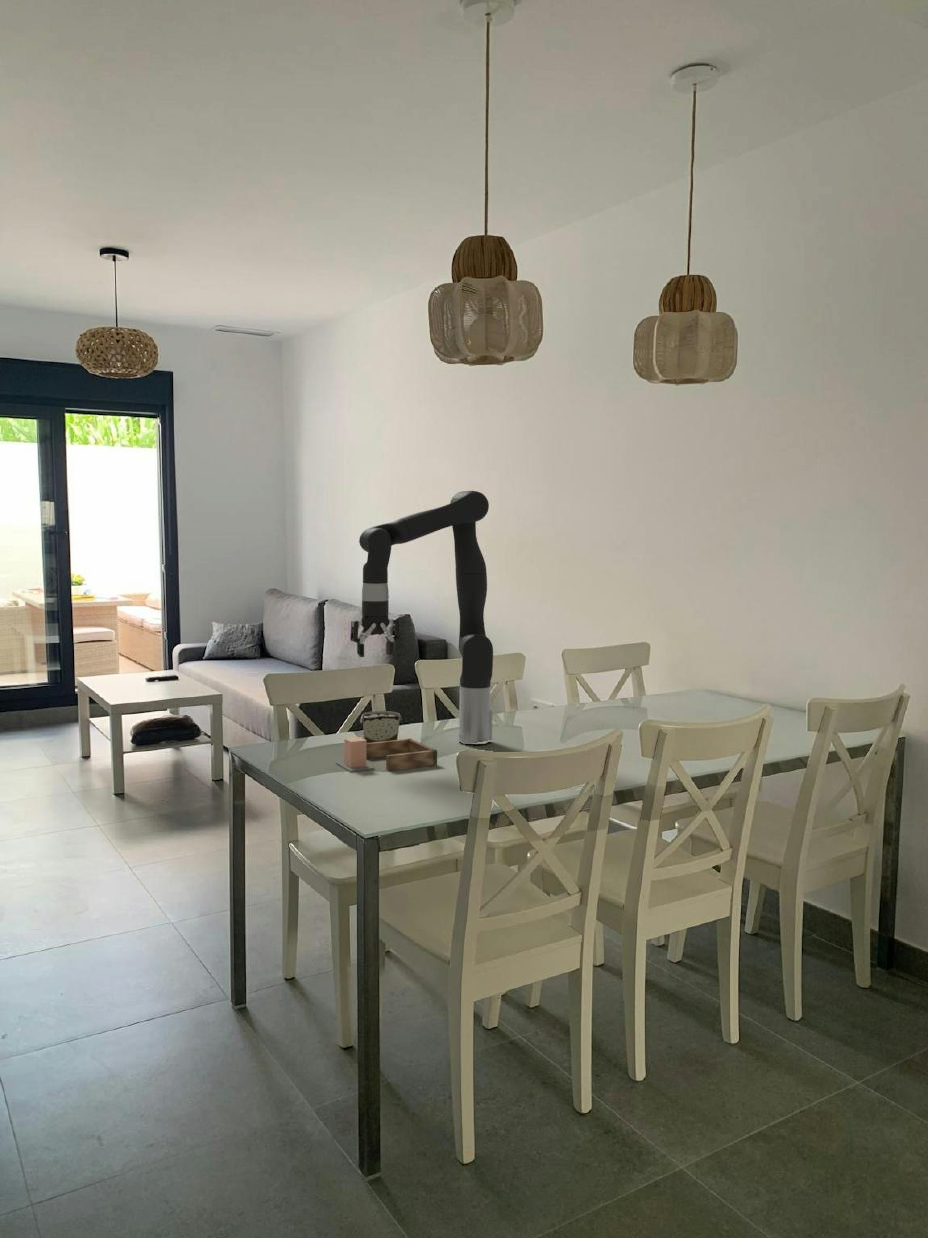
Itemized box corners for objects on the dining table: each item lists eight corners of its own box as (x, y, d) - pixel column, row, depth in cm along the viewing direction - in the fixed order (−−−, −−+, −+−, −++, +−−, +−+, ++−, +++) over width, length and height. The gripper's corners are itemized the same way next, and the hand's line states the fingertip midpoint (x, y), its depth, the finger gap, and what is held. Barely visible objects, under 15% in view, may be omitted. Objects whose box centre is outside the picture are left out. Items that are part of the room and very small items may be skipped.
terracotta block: (359, 762, 263) (359, 737, 262) (366, 766, 259) (366, 740, 259) (344, 764, 261) (344, 738, 260) (350, 767, 257) (350, 742, 256)
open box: (410, 752, 277) (410, 738, 277) (437, 765, 263) (437, 750, 263) (363, 757, 270) (363, 743, 270) (388, 771, 256) (388, 756, 255)
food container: (395, 742, 289) (395, 709, 288) (401, 747, 283) (401, 713, 282) (355, 745, 285) (355, 712, 284) (360, 750, 279) (360, 716, 278)
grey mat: (359, 761, 266) (359, 759, 266) (374, 769, 257) (374, 767, 257) (335, 763, 263) (335, 762, 263) (350, 772, 254) (350, 770, 254)
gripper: (392, 597, 279) (392, 652, 281) (346, 598, 272) (346, 655, 274) (403, 599, 273) (403, 656, 274) (357, 600, 266) (357, 659, 267)
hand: (375, 655), depth 274 cm, fingers open, 8 cm apart
